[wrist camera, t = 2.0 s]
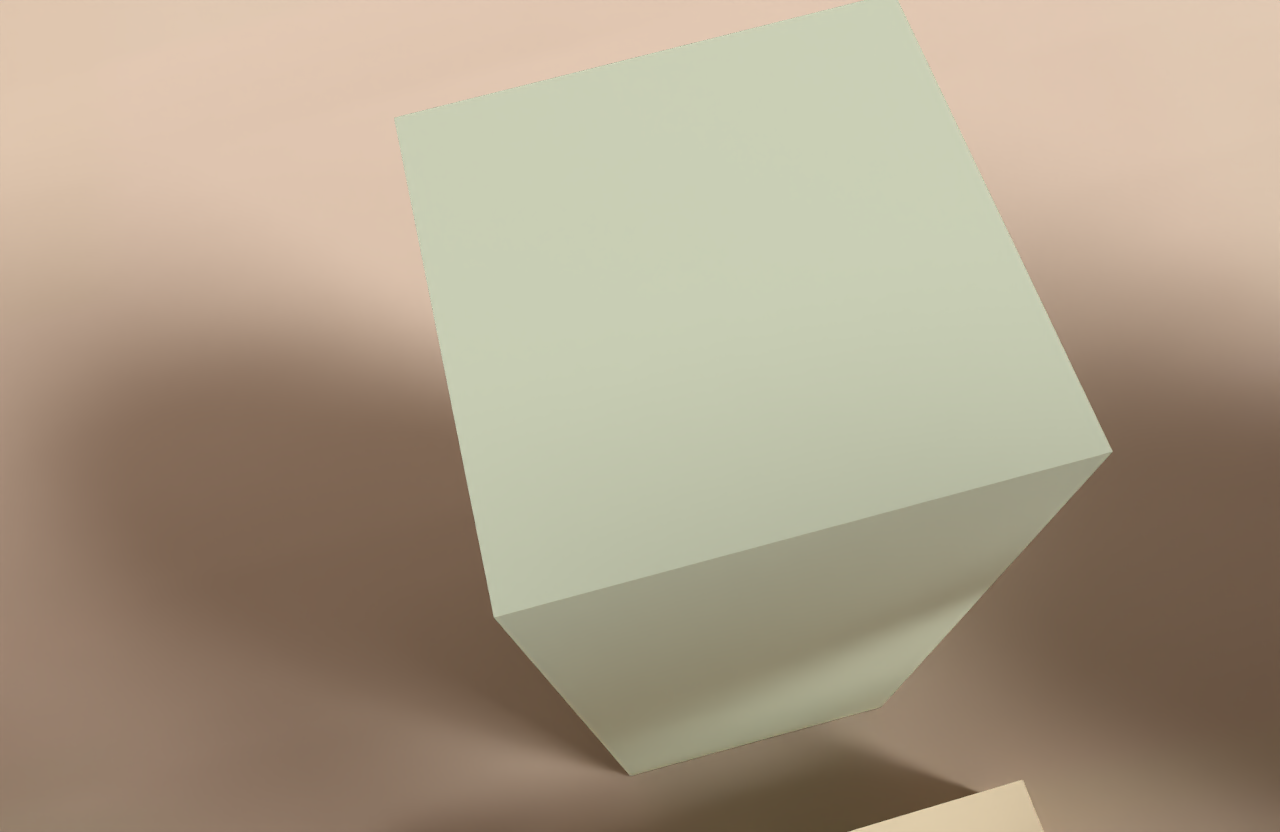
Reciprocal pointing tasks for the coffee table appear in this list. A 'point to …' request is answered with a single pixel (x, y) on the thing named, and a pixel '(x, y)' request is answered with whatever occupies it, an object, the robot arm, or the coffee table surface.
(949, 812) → the maple slab
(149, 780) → the coffee table surface
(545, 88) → the sage block
